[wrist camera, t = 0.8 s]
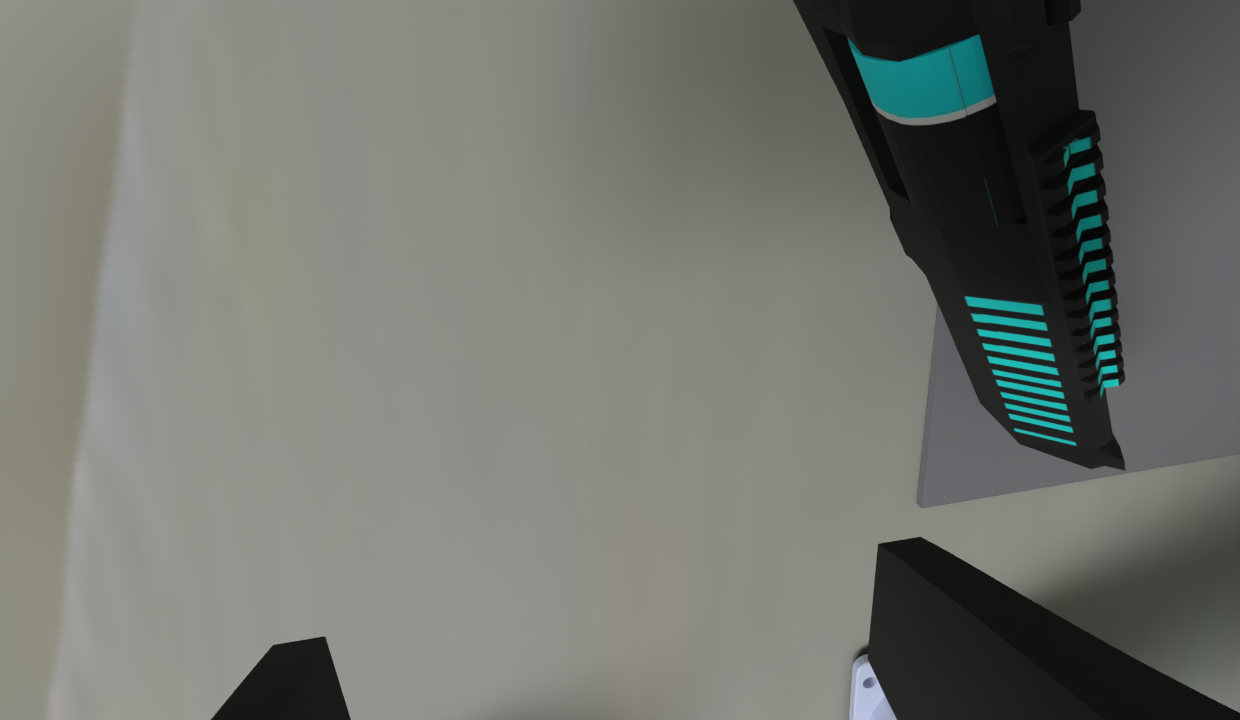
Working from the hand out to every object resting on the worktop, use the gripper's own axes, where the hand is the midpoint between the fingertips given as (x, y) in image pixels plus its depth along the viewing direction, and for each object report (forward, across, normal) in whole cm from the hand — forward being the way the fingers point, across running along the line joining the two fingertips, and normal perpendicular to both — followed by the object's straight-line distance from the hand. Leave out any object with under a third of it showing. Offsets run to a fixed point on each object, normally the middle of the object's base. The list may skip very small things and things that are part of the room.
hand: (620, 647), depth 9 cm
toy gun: (+10, -8, -5) cm, 14 cm away
